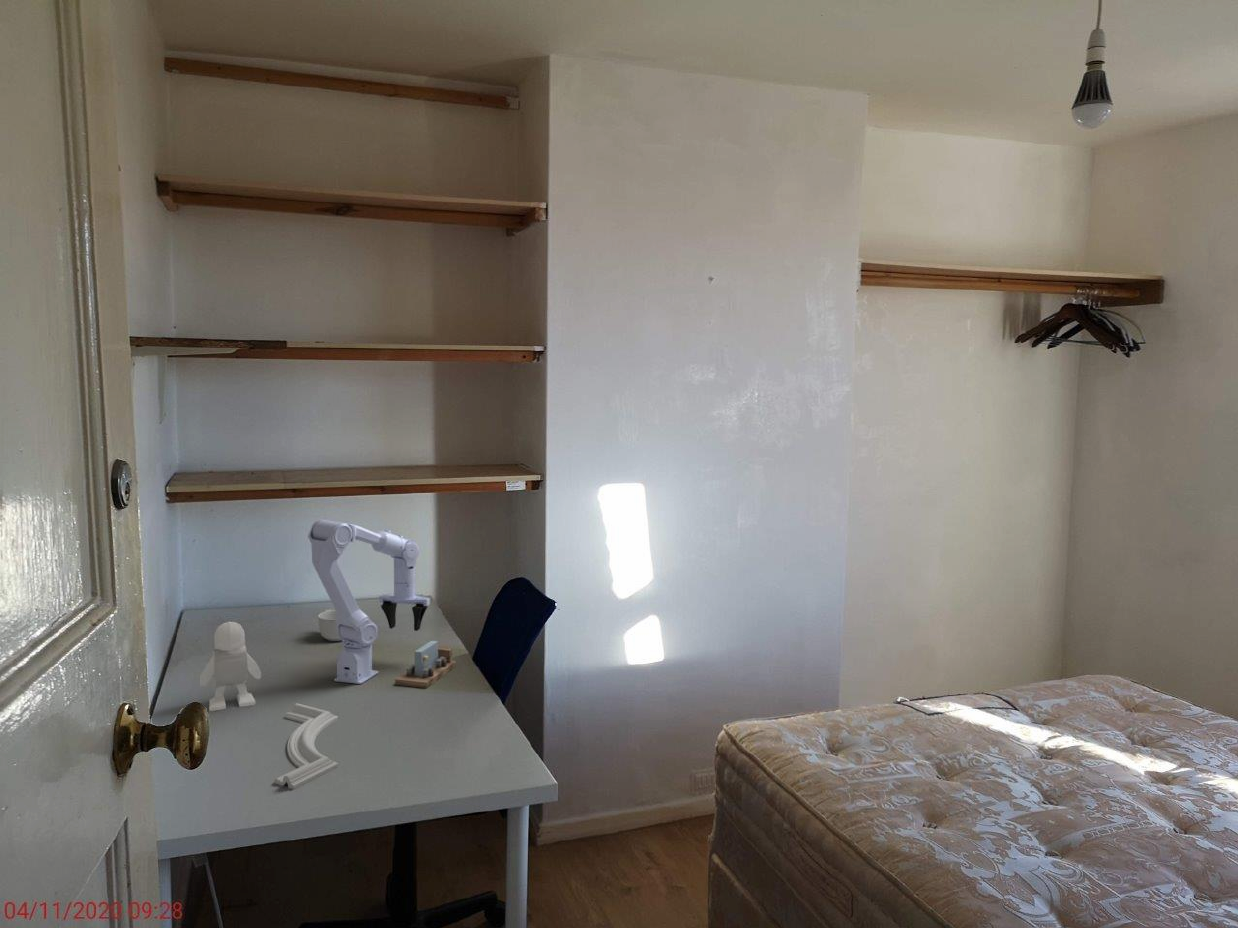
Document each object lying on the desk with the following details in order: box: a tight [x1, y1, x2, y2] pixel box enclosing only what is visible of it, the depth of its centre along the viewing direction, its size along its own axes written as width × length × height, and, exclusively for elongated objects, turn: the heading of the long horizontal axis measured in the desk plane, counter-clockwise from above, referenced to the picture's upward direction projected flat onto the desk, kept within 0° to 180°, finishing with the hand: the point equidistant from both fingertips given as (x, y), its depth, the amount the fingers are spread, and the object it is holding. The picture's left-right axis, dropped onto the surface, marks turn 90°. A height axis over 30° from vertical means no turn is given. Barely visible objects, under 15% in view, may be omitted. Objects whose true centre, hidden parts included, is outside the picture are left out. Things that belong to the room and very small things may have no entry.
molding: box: [273, 702, 339, 790], centre depth 192 cm, size 42×12×3 cm, turn 18°
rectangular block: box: [414, 640, 439, 676], centre depth 236 cm, size 10×3×6 cm, turn 166°
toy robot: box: [198, 621, 262, 712], centre depth 215 cm, size 14×9×20 cm, turn 117°
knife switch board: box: [394, 646, 457, 689], centre depth 237 cm, size 18×9×5 cm, turn 166°
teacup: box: [317, 608, 342, 642], centre depth 270 cm, size 14×11×8 cm
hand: (404, 628), depth 247 cm, fingers open, 7 cm apart
